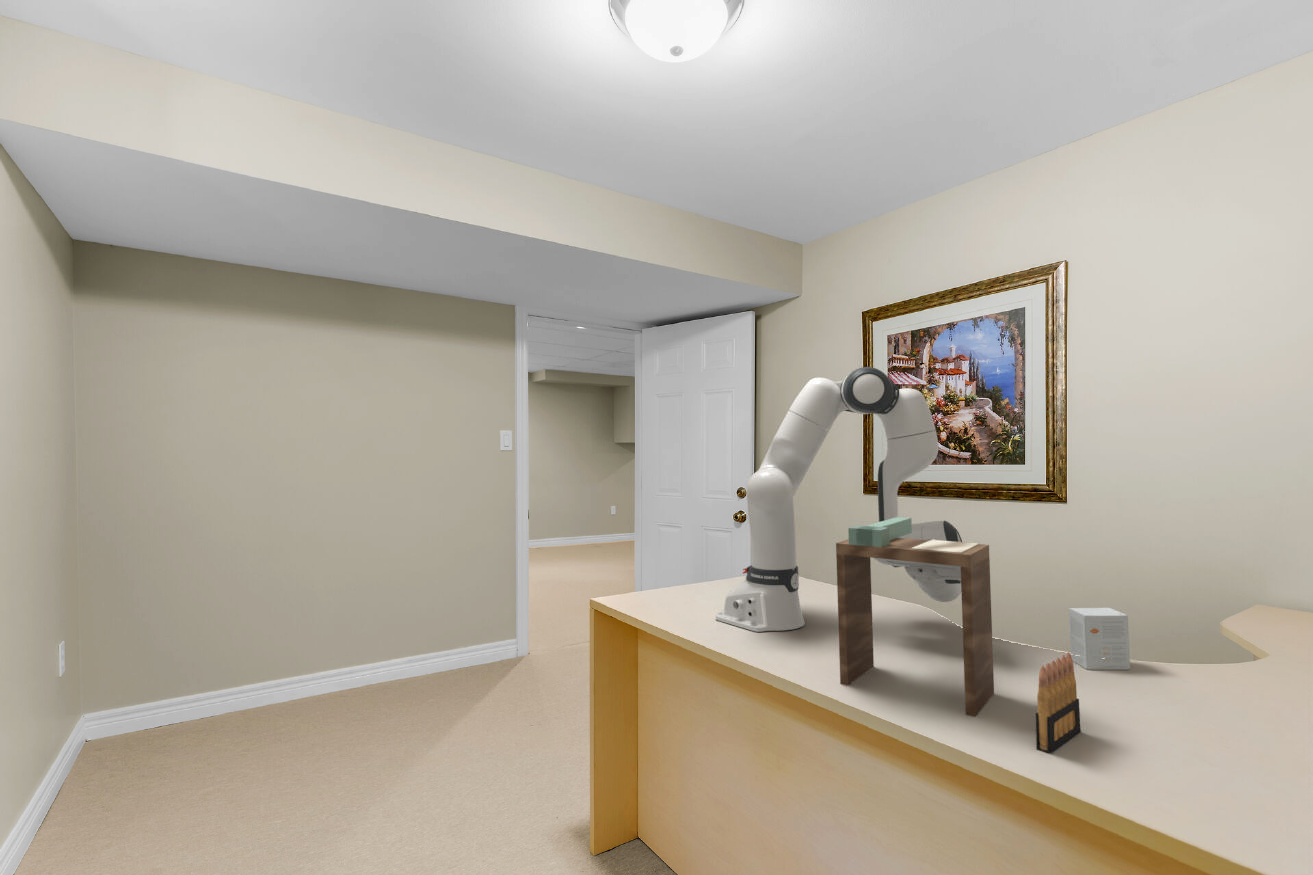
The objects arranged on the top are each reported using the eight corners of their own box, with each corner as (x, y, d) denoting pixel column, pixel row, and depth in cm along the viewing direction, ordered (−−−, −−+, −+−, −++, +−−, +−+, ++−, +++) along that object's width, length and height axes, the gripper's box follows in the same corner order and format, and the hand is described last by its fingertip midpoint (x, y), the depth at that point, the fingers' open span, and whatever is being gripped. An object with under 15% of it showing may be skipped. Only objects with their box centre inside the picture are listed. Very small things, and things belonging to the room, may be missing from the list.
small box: (1112, 660, 123) (1110, 607, 123) (1131, 670, 117) (1129, 614, 117) (1069, 659, 124) (1067, 607, 124) (1086, 670, 118) (1084, 614, 118)
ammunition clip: (1050, 754, 87) (1047, 669, 87) (1035, 749, 89) (1032, 665, 89) (1081, 732, 93) (1078, 652, 93) (1067, 727, 95) (1064, 649, 95)
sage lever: (848, 544, 113) (848, 527, 113) (889, 531, 128) (889, 516, 128) (881, 547, 109) (880, 530, 109) (919, 533, 124) (919, 518, 124)
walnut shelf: (840, 683, 114) (835, 542, 115) (866, 665, 123) (862, 534, 124) (975, 716, 99) (970, 553, 100) (994, 693, 108) (989, 543, 109)
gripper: (882, 547, 144) (860, 522, 135) (978, 556, 131) (961, 529, 122) (877, 572, 142) (855, 549, 133) (974, 584, 128) (957, 559, 120)
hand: (906, 540), depth 127 cm, fingers open, 8 cm apart
